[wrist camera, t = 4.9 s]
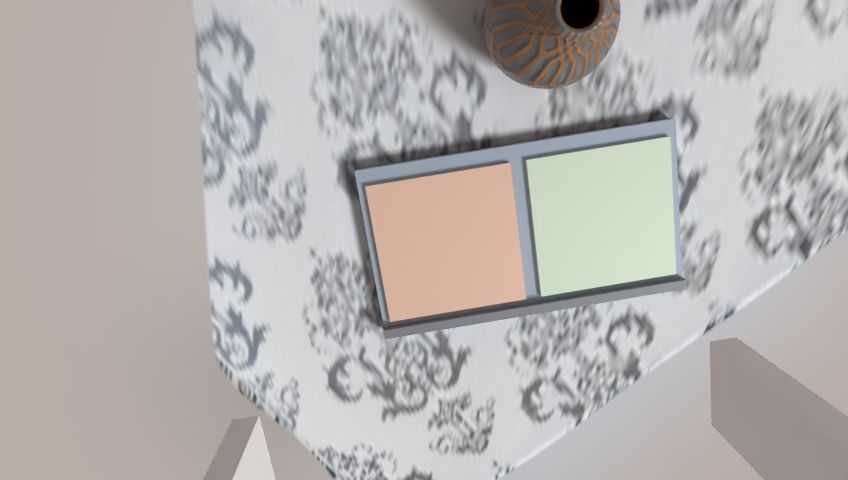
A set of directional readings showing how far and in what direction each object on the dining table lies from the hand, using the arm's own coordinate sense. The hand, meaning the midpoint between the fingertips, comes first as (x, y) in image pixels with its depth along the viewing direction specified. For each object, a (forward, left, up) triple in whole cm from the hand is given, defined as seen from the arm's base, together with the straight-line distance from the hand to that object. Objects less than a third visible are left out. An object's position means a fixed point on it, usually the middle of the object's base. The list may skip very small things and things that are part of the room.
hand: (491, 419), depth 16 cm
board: (0, +6, -21) cm, 22 cm away
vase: (-12, +8, -21) cm, 25 cm away
